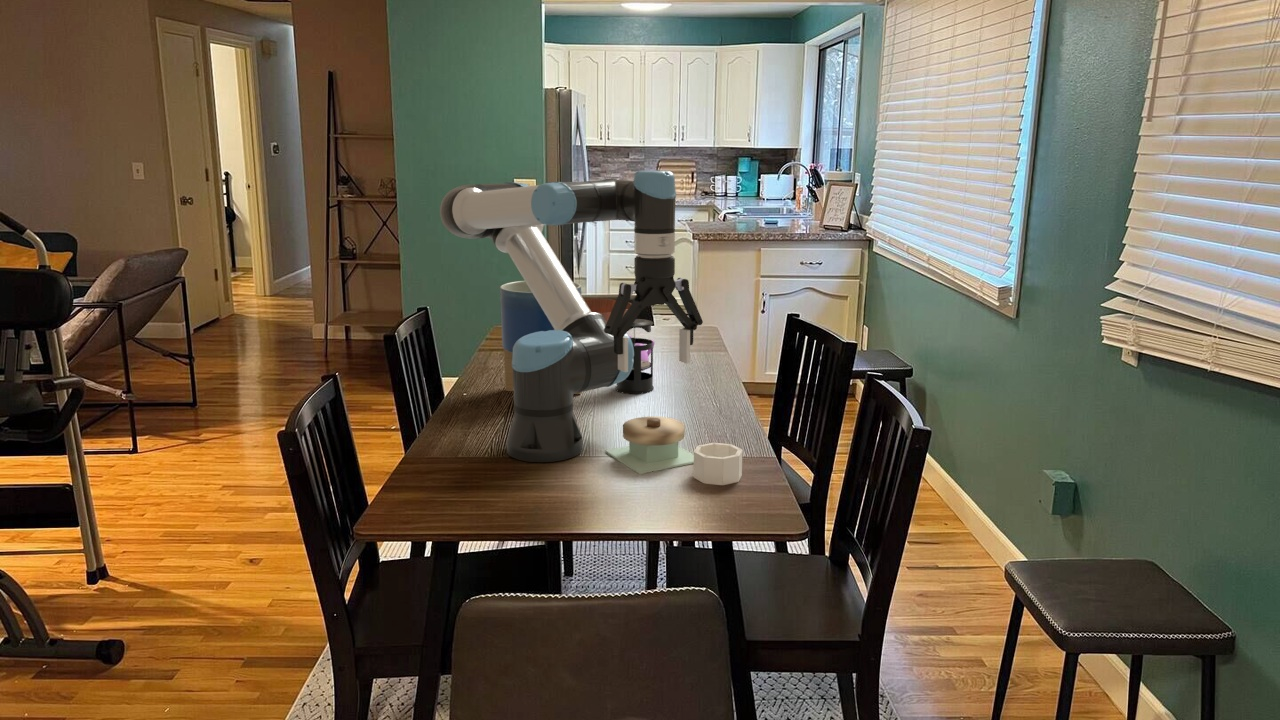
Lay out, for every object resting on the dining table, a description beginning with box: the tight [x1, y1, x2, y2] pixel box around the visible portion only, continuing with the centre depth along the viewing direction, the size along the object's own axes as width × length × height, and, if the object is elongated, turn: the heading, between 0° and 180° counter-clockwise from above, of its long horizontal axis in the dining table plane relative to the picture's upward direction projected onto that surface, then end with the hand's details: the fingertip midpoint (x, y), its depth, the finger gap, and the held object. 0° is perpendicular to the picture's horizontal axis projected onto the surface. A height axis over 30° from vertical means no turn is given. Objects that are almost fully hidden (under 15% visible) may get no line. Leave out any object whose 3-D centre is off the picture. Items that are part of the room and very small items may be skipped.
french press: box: [615, 296, 654, 395], centre depth 227 cm, size 12×9×23 cm
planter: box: [499, 280, 583, 395], centre depth 224 cm, size 19×19×26 cm
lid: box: [622, 416, 686, 446], centre depth 180 cm, size 12×12×3 cm
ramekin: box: [692, 442, 743, 486], centre depth 170 cm, size 8×8×5 cm
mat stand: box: [604, 441, 694, 475], centre depth 181 cm, size 14×14×4 cm
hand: (654, 366), depth 177 cm, fingers open, 13 cm apart
